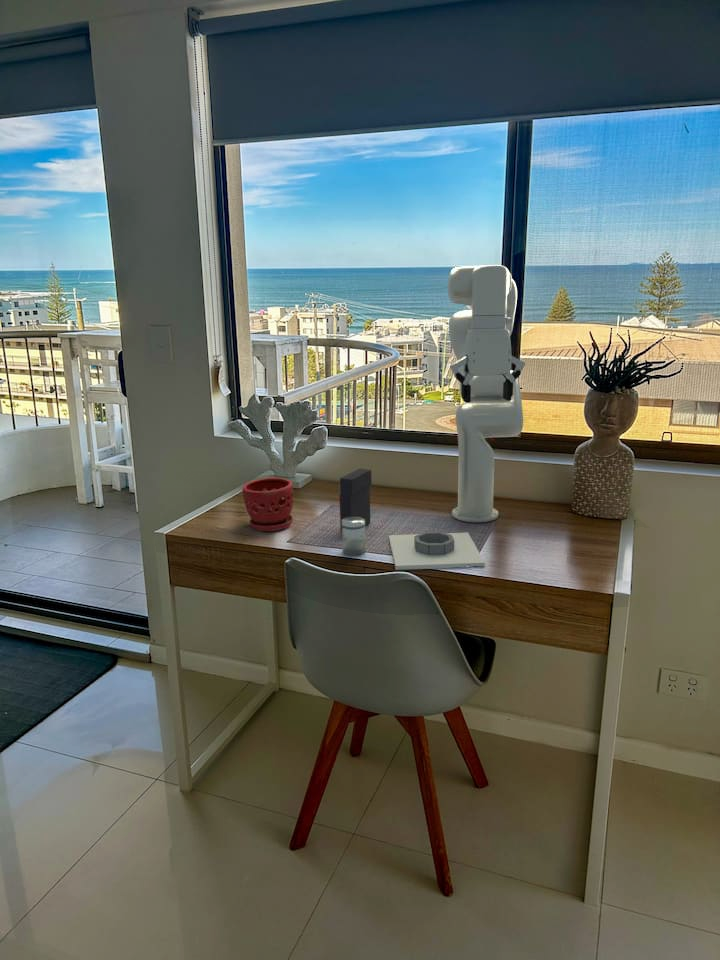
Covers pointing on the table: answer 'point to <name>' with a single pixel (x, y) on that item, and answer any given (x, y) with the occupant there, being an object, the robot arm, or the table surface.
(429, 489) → the table surface
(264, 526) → the plant pot
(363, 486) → the upright black box
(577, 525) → the table surface
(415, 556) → the holder
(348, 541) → the piston
